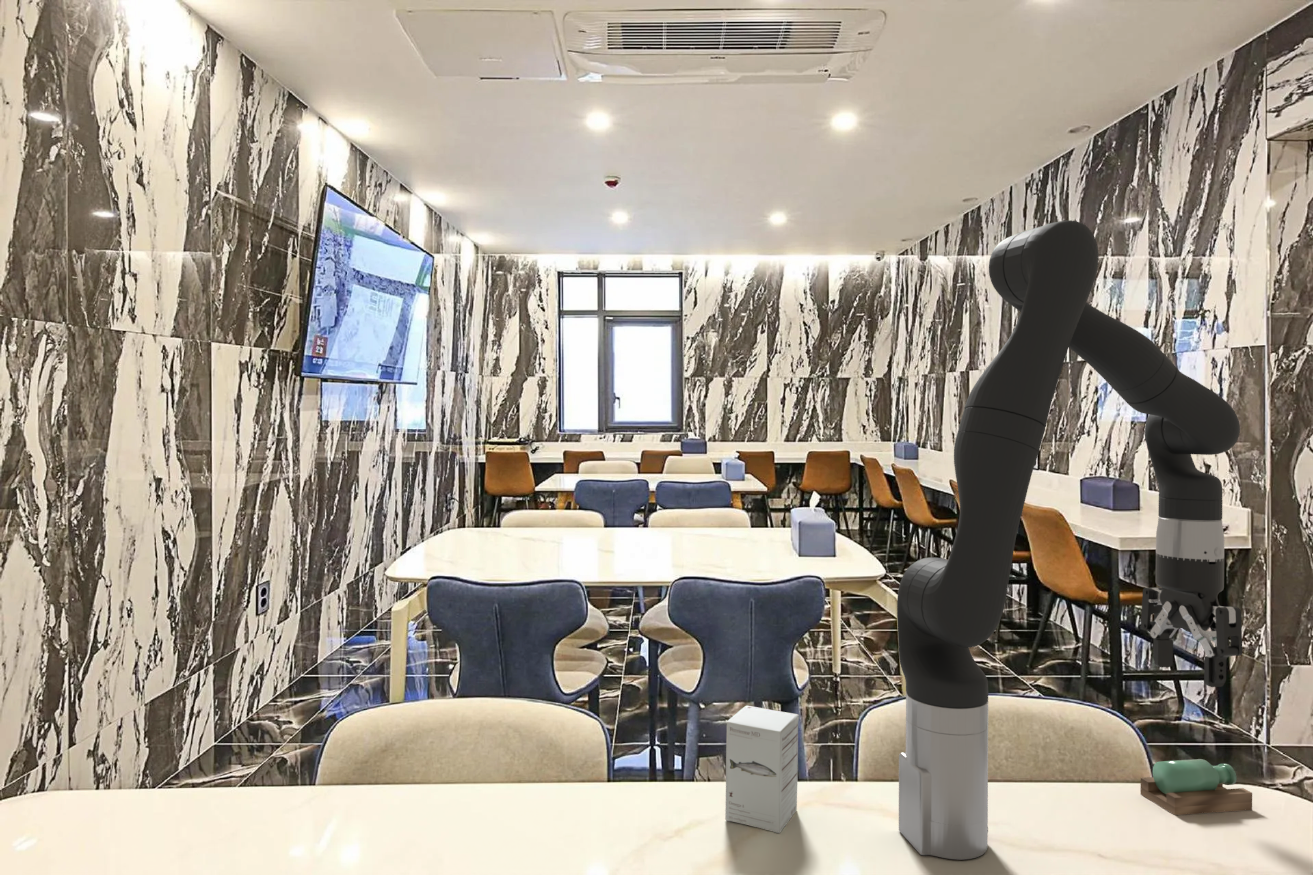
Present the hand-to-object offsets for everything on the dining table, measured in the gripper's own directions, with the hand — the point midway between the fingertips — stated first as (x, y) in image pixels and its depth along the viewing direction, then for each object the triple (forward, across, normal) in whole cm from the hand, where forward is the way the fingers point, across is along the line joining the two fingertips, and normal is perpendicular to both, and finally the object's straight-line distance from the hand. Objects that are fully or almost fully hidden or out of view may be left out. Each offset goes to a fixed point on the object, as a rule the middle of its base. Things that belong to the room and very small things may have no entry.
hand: (1187, 675), depth 107 cm
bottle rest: (+17, 0, +1) cm, 17 cm away
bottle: (+13, 0, +1) cm, 13 cm away
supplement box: (+17, -3, -56) cm, 59 cm away
